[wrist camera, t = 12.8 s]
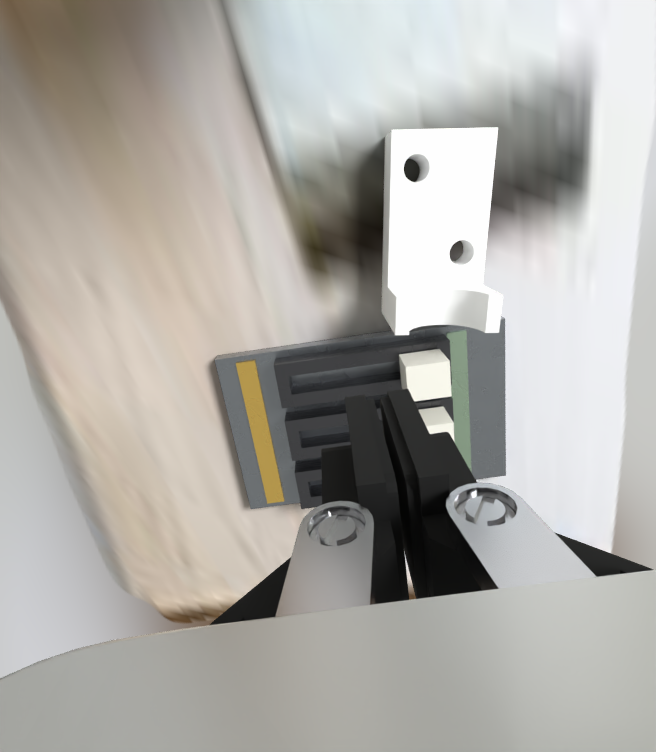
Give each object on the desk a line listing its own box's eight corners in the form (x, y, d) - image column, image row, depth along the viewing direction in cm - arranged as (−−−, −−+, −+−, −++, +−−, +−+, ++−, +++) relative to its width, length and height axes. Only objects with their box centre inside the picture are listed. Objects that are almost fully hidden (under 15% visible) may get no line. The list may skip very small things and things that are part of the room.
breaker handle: (394, 347, 37) (405, 367, 33) (433, 342, 37) (449, 361, 33) (398, 379, 38) (408, 402, 34) (435, 374, 38) (451, 396, 34)
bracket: (465, 309, 38) (498, 332, 31) (381, 311, 38) (395, 335, 31) (480, 135, 33) (523, 115, 26) (384, 137, 33) (401, 118, 26)
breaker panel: (217, 355, 39) (209, 367, 36) (499, 315, 38) (513, 323, 35) (252, 501, 44) (248, 521, 41) (500, 468, 43) (513, 486, 40)
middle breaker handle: (400, 402, 39) (411, 428, 34) (437, 397, 39) (453, 422, 34) (403, 431, 40) (414, 459, 35) (439, 426, 40) (455, 454, 35)
